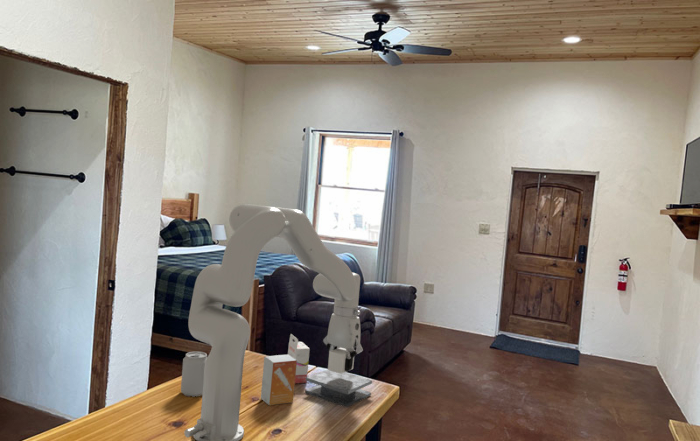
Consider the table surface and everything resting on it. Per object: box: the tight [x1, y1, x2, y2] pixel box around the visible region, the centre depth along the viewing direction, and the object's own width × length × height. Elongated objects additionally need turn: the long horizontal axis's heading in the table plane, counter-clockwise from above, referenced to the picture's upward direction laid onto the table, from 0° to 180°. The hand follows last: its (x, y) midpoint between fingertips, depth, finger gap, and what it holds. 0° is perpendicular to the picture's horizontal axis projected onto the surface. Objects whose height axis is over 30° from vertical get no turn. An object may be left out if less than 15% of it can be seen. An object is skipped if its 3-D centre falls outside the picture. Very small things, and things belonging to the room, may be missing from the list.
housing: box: [327, 347, 356, 374], centre depth 174 cm, size 5×7×6 cm
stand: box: [304, 369, 373, 408], centre depth 174 cm, size 14×16×5 cm
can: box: [180, 351, 208, 398], centre depth 164 cm, size 8×8×12 cm
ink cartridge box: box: [287, 333, 311, 384], centre depth 185 cm, size 9×5×15 cm, turn 25°
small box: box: [260, 353, 297, 406], centre depth 164 cm, size 8×6×13 cm
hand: (340, 367), depth 174 cm, fingers closed on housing, 5 cm apart
